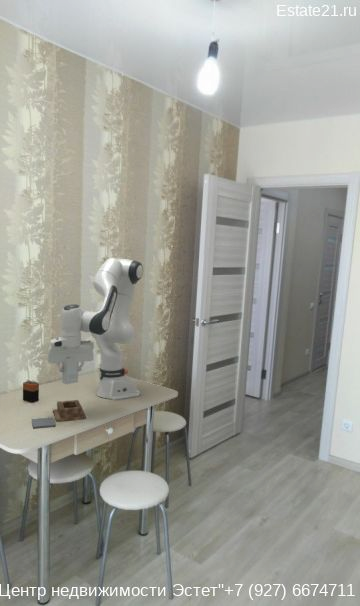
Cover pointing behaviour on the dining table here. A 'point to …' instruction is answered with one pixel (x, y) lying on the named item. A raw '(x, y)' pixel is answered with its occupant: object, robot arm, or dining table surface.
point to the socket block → (69, 411)
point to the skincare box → (69, 371)
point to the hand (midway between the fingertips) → (70, 371)
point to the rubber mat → (43, 422)
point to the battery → (30, 391)
